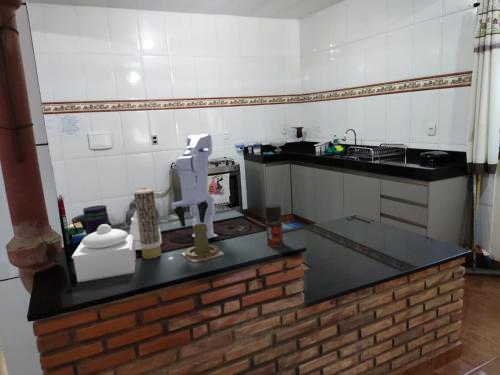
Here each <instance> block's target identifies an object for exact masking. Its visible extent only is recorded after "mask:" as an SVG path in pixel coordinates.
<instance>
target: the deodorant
mask: <svg viewBox="0 0 500 375" xmlns="http://www.w3.org/2000/svg"><path fill="white" fill-rule="evenodd" d="M264 213H265V215H264V216H265V227H266V229H265V230H266V240H267V243H266V244H267V247H271V248H272V247H273V248H274V247H275V248H276V247H281V246H283V245H284V239H283V238H284V237H283V223H282V207H281V204H278V203H275V204H274V203H272V204H267V205H264Z"/></svg>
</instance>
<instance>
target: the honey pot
mask: <svg viewBox="0 0 500 375" xmlns="http://www.w3.org/2000/svg"><path fill="white" fill-rule="evenodd" d="M130 221H131V223H130V226H129V233H128V235H131V234H132V236H134V244H135V251H137V250H138V251H142V249H141V242H140V234H139V226H138V218H137V210H135V212H134V214H133V216H132V217H131V219H130ZM158 231H159V240H160V245H162V243H163V240H162V234H161V229H160V227H159V226H158Z"/></svg>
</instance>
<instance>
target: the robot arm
mask: <svg viewBox="0 0 500 375" xmlns="http://www.w3.org/2000/svg"><path fill="white" fill-rule="evenodd" d="M212 140H213V139H212V135H211V134H210V133H207V134H196V135H195V134H194V135H190V134H189V135H188V136H187V138H186V146H187V147H186V148H185V149H184V150H183V153H182V155H181V156H179V157H178V158H177V159H176V162H175V165H176V170H177V174H178V175H177V176H178V178H179V182H180V190H181V199H182V200H179V201H176V202H175V201H174V202H172V203H170V205H171V206H170V207H171V208H170V209H172V210H173V212H174V213H175V214H176V216H177V218H178V220H179V223H180V226H181V227H182V228H185V227H186V221H185V220H186V219H185V209H184V207H188V206H189V213H190V216H192V217H193V219H192V228H193V227H194V225H196V224H205V225H206V226H207V232H206V234H207V238H208V240H209V239H213V238H216V237H218V234H215V233H214V225H213V224H214V223H213V216H214V215H215V214H216V205H215V198H214V197H213V196H212V195H211V194H209V190H208V188H209V187H208V186H209V184H208V183H209V180H208V178H209V174H208V173H209V171H208V169H209V168H208V167H209V166H208V162H209V161H208V160H209V157H210V156H211V155H212V154H213V141H212ZM191 236H192V237H193V238H195V233H194V232H193V234H191Z"/></svg>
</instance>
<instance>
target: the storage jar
mask: <svg viewBox="0 0 500 375" xmlns="http://www.w3.org/2000/svg"><path fill="white" fill-rule="evenodd" d="M82 211H83V219H84V220H83V221H84V222H85V228H86V230H85V233H86V236H87V235H89V234H91V233H94V232H97V228H98V227H99V226H100V225H102V224H108V225H109V215H108V213H109V212H108V209H107V205H93V206H88V207H84V208H82Z"/></svg>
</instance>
